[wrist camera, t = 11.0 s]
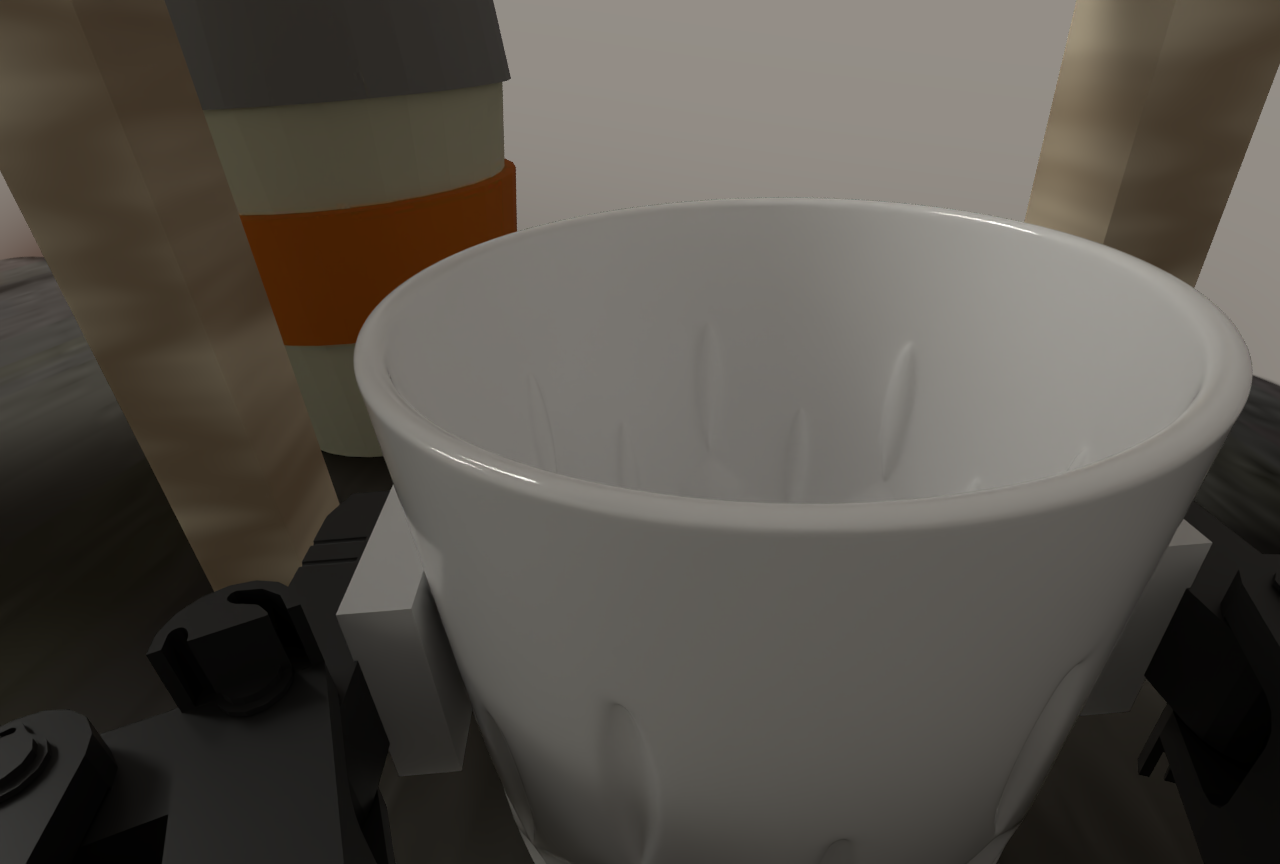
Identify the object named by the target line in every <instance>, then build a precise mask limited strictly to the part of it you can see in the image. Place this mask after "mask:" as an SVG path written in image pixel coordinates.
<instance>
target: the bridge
mask: <svg viewBox="0 0 1280 864" xmlns="http://www.w3.org/2000/svg"><path fill="white" fill-rule="evenodd" d="M1279 64H1280V0H1076V5H1075V9H1074V13H1073V18H1072V22H1071V26H1070V30H1069V34H1068V39H1067V43H1066V47H1065V51H1064V56H1063V60H1062V64H1061V68H1060V73H1059V77H1058V81H1057V85H1056V90H1055V94H1054V98H1053V102H1052V107H1051V111H1050V115H1049V120H1048V124H1047V128H1046V132H1045V136H1044V141H1043V145H1042V149H1041V153H1040V158H1039V162H1038V166H1037V170H1036V174H1035V179H1034V183H1033V188H1032V191H1031V196H1030V200H1029V204H1028V209H1027V213H1026V217H1025V221H1024V222H1025V223H1030V224H1034V225H1038V226H1042V227H1046V228H1050V229H1054V230H1058V231H1062V232H1065V233H1069V234H1072V235H1076V236H1079V237H1082V238H1085V239H1088V240H1092V241H1095V242H1098V243H1101V244H1103V245H1106V246H1109V247H1112V248H1115V249H1117V250H1120V251H1122V252H1125V253H1127V254H1130V255H1132V256H1135V257H1137V258H1139V259H1141V260H1144V261H1146V262H1148V263H1150V264H1152V265H1154V266H1156V267H1158V268H1160V269H1162V270H1164V271H1166V272H1168V273H1170V274H1172V275H1174V276H1175V277H1177V278H1179V279H1180V280H1182V281H1184V282H1185V283H1187V284H1188V285H1190V286H1192V287H1193V288H1194V287H1195V285H1196V282H1197V279H1198V277H1199V274H1200V271H1201V269H1202V266H1203V264H1204V261H1205V258H1206V255H1207V253H1208V250H1209V248H1210V245H1211V243H1212V240H1213V237H1214V235H1215V232H1216V230H1217V227H1218V224H1219V222H1220V219H1221V216H1222V214H1223V211H1224V208H1225V206H1226V203H1227V201H1228V198H1229V195H1230V193H1231V190H1232V187H1233V185H1234V182H1235V180H1236V177H1237V174H1238V172H1239V169H1240V167H1241V164H1242V161H1243V159H1244V156H1245V153H1246V151H1247V148H1248V145H1249V143H1250V140H1251V138H1252V135H1253V132H1254V130H1255V127H1256V125H1257V122H1258V119H1259V116H1260V114H1261V111H1262V109H1263V106H1264V103H1265V101H1266V98H1267V96H1268V93H1269V90H1270V88H1271V85H1272V83H1273V80H1274V77H1275V74H1276V72H1277V69H1278V67H1279ZM0 171H1V173H2V175H3V177H4V179H5V181H6V183H7V185H8V187H9V189H10V191H11V193H12V194H13V197H14V199H15V201H16V202H17V204H18V206H19V208H20V210H21V212H22V214H23V216H24V218H25V220H26V222H27V224H28V226H29V228H30V230H31V232H32V234H33V236H34V238H35V240H36V242H37V244H38V246H39V248H40V250H41V252H42V254H43V256H44V258H45V260H46V262H47V263H48V265H49V267H50V269H51V271H52V273H53V275H54V277H55V279H56V281H57V283H58V285H59V287H60V289H61V291H62V293H63V295H64V297H65V299H66V301H67V303H68V305H69V307H70V309H71V311H72V313H73V315H74V317H75V319H76V321H77V323H78V325H79V326H80V328H81V330H82V332H83V334H84V336H85V338H86V340H87V342H88V344H89V346H90V348H91V350H92V352H93V354H94V356H95V358H96V360H97V362H98V364H99V366H100V368H101V370H102V372H103V374H104V376H105V378H106V380H107V382H108V384H109V386H110V388H111V389H112V391H113V393H114V395H115V397H116V399H117V401H118V403H119V405H120V407H121V409H122V411H123V413H124V415H125V417H126V419H127V421H128V423H129V425H130V427H131V429H132V431H133V433H134V435H135V437H136V439H137V441H138V443H139V445H140V447H141V449H142V450H143V452H144V454H145V456H146V458H147V460H148V462H149V464H150V466H151V468H152V470H153V472H154V474H155V476H156V478H157V480H158V482H159V484H160V486H161V488H162V490H163V492H164V494H165V496H166V498H167V500H168V502H169V504H170V506H171V508H172V510H173V512H174V513H175V515H176V517H177V519H178V521H179V523H180V525H181V527H182V529H183V531H184V533H185V535H186V537H187V539H188V541H189V543H190V545H191V547H192V549H193V551H194V553H195V555H196V557H197V559H198V561H199V563H200V565H201V567H202V569H203V571H204V573H205V574H206V576H207V578H208V580H209V582H210V584H211V586H212V588H213V590H214V592H215V591H217V590H220V589H222V588H225V587H227V586H230V585H235V584H240V583H245V582H250V581H255V580H259V581H274V582H280V583H282V584H284V585H286V586H289V584H290V582H291V580H292V579H293V577H294V575H295V573H296V571H297V569H298V568H299V567H302V560H303V559H304V557H305V555H306V553H307V551H308V549H309V548H310V546H313V545H314V542H313V540H314V538H315V537H316V535H317V533H318V531H319V529H320V528H321V526H322V524H323V522H324V520H325V518H326V517H327V515H329V514H330V513H331V512H332V511H333V510H334V509H335V508H337V507H338V506H339V505H340V504H339V501H338V498H337V495H336V492H335V489H334V486H333V484H332V481H331V478H330V475H329V472H328V469H327V466H326V463H325V461H324V458H323V455H322V452H321V449H320V446H319V443H318V440H317V438H316V435H315V432H314V429H313V426H312V423H311V420H310V417H309V415H308V412H307V409H306V406H305V403H304V400H303V397H302V394H301V392H300V389H299V386H298V383H297V380H296V377H295V374H294V371H293V369H292V366H291V363H290V360H289V357H288V354H287V351H286V348H285V346H284V343H283V340H282V337H281V334H280V331H279V328H278V325H277V323H276V320H275V317H274V314H273V311H272V308H271V305H270V302H269V300H268V297H267V294H266V291H265V288H264V285H263V282H262V279H261V277H260V274H259V271H258V268H257V265H256V262H255V259H254V256H253V254H252V251H251V248H250V245H249V242H248V239H247V236H246V233H245V231H244V228H243V225H242V222H241V219H240V216H239V213H238V210H237V208H236V205H235V202H234V199H233V196H232V193H231V190H230V187H229V185H228V182H227V179H226V176H225V173H224V170H223V167H222V164H221V162H220V159H219V156H218V153H217V150H216V147H215V144H214V141H213V139H212V136H211V133H210V130H209V127H208V124H207V121H206V118H205V116H204V113H203V110H202V107H201V104H200V101H199V98H198V95H197V92H196V90H195V87H194V84H193V81H192V78H191V75H190V72H189V69H188V67H187V64H186V61H185V58H184V55H183V52H182V49H181V46H180V44H179V41H178V38H177V35H176V32H175V29H174V26H173V23H172V21H171V18H170V15H169V12H168V9H167V6H166V3H165V0H0Z"/></svg>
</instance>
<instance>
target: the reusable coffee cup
mask: <svg viewBox="0 0 1280 864" xmlns="http://www.w3.org/2000/svg"><path fill="white" fill-rule="evenodd" d="M165 3H166V6H167V9H168V12H169V15H170V18H171V21H172V23H173V26H174V29H175V32H176V35H177V38H178V41H179V44H180V46H181V49H182V52H183V55H184V58H185V61H186V64H187V67H188V69H189V72H190V75H191V78H192V81H193V84H194V87H195V90H196V92H197V95H198V98H199V101H200V104H201V107H202V110H203V113H204V116H205V118H206V121H207V124H208V127H209V130H210V133H211V136H212V139H213V141H214V144H215V147H216V150H217V153H218V156H219V159H220V162H221V164H222V167H223V170H224V173H225V176H226V179H227V182H228V185H229V187H230V190H231V193H232V196H233V199H234V202H235V205H236V208H237V210H238V213H239V216H240V219H241V222H242V225H243V228H244V231H245V233H246V236H247V239H248V242H249V245H250V248H251V251H252V254H253V256H254V259H255V262H256V265H257V268H258V271H259V274H260V277H261V279H262V282H263V285H264V288H265V291H266V294H267V297H268V300H269V302H270V305H271V308H272V311H273V314H274V317H275V320H276V323H277V325H278V328H279V331H280V334H281V337H282V340H283V343H284V346H285V348H286V351H287V354H288V357H289V360H290V363H291V366H292V369H293V371H294V374H295V377H296V380H297V383H298V386H299V389H300V392H301V394H302V397H303V400H304V403H305V406H306V409H307V412H308V415H309V417H310V420H311V423H312V426H313V429H314V432H315V435H316V438H317V440H318V443H319V446H320V449H321V450H322V451H325V452H328V453H331V454H337V455H343V456H350V457H379V456H383V454H382V451H381V449H380V446H379V443H378V440H377V437H376V435H375V432H374V429H373V426H372V423H371V421H370V418H369V415H368V412H367V409H366V407H365V404H364V401H363V398H362V396H361V393H360V390H359V387H358V384H357V381H356V377H355V373H354V364H353V356H354V348H355V343H356V340H357V337H358V334H359V332H360V330H361V328H362V326H363V324H364V322H365V321H366V319H367V318H368V316H369V315H370V313H371V312H372V311H373V310H374V308H375V307H376V306H377V305H378V304H379V303H380V302H381V301H382V300H383V299H384V298H385V297H386V296H387V295H388V294H389V293H391V292H392V291H393V290H394V289H395V288H397V287H398V286H399V285H401V284H402V283H403V282H405V281H406V280H408V279H409V278H411V277H412V276H414V275H415V274H417V273H419V272H420V271H422V270H424V269H425V268H427V267H429V266H431V265H433V264H435V263H437V262H438V261H440V260H442V259H445V258H447V257H449V256H451V255H453V254H455V253H458V252H460V251H462V250H465V249H467V248H470V247H472V246H475V245H478V244H480V243H483V242H486V241H489V240H492V239H495V238H498V237H501V236H504V235H507V234H510V233H514V232H517V217H516V215H517V213H516V167H515V165H514V164H513V162H511V161H509V160H507V159H504V129H503V91H502V82H503V81H507V80H509V79H511V77H510V73H509V68H508V64H507V59H506V55H505V51H504V47H503V42H502V38H501V34H500V29H499V24H498V20H497V16H496V11H495V7H494V3H493V0H165Z"/></svg>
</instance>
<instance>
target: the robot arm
mask: <svg viewBox="0 0 1280 864" xmlns="http://www.w3.org/2000/svg"><path fill="white" fill-rule="evenodd" d="M313 542H314V545H313V546H310V548H309V549H308V551H307V553H306V555H305V557H304V559H303V560H302V567H299V568H298V569H297V571H296V573H295V575H294V577H293V579H292V580H291V582H290V584H289V586H286V585H284V584H282V583H280V582H274V581H259V580H255V581H250V582H245V583H240V584H235V585H230V586H227V587H225V588H222V589H220V590H217V591H215V592H213V593H210V594H208V595H205V596H203V597H201V598H199V599H198V600H196V601H195V602H193V603H192V604H190V605H189V606H187V607H185V608H184V609H182V610H181V611H179V612H178V613H176V614H175V615H174V616H173V617H172V618H171V619H170V620H169V621H168V622H167V623H166V624H165V625H164V626H163V627H162V628H161V629H160V630H159V631H158V632H157V633H156V635H155V637H154V639H153V641H152V643H151V645H150V647H149V649H148V651H147V654H146V656H147V657H148V659H149V661H150V662H151V664H152V666H153V667H154V669H155V670H156V672H157V674H158V675H159V677H160V678H161V680H162V682H163V683H164V685H165V687H166V688H167V690H168V691H169V693H170V695H171V696H172V698H173V700H174V701H175V703H176V704H177V706H178V708H176V709H173V710H171V711H168V712H165V713H162V714H159V715H156V716H153V717H150V718H147V719H144V720H141V721H138V722H135V723H132V724H129V725H126V726H123V727H120V728H117V729H114V730H111V731H108V732H105V733H102V734H99V733H98V732H97V731H96V729H95V728H94V727H93V725H92V724H91V723H90V721H89V720H88V718H87V717H85V716H83V715H81V714H79V713H77V712H74V711H72V710H70V709H67V710H45V711H41V712H38V713H35V714H32V715H28V716H25V717H22V718H19V719H16V720H13V721H11V722H9V723H7V724H5V725H3V726H1V727H0V864H395V858H394V852H393V845H392V839H391V833H390V826H389V820H388V814H387V807H386V804H385V802H384V800H383V797H382V795H381V792H380V790H379V788H378V785H379V781H380V777H381V774H382V770H383V767H384V763H385V760H386V756H387V753H388V749H389V752H390V755H391V757H392V760H393V762H394V765H395V767H396V770H397V772H398V775H399V777H400V776H411V775H422V774H433V773H444V772H456V771H462V766H463V761H464V755H465V749H466V744H467V738H468V732H469V727H470V721H471V715H472V708H471V705H470V702H469V699H468V696H467V693H466V690H465V688H464V685H463V682H462V679H461V676H460V673H459V670H458V667H457V665H456V662H455V659H454V656H453V653H452V650H451V647H450V644H449V642H448V639H447V636H446V633H445V630H444V627H443V624H442V621H441V619H440V616H439V613H438V610H437V607H436V604H435V601H434V598H433V596H432V593H431V590H430V587H429V584H428V581H427V578H426V576H425V573H424V570H423V567H422V564H421V561H420V558H419V556H418V553H417V550H416V547H415V544H414V541H413V539H412V536H411V533H410V530H409V527H408V524H407V522H406V519H405V516H404V513H403V510H402V508H401V505H400V502H399V499H398V496H397V493H396V491H395V488H394V485H393V486H392V488H391V491H378V492H365V493H353V494H351V495H350V496H349V497H348V498H347V499H346V500H345V501H343V502H342V503H341V504H340V505H339V506H338V507H337V508H335V509H334V510H333V511H332V512H331V513H330V514H329V515H327V517H326V518H325V520H324V522H323V524H322V526H321V528H320V529H319V531H318V533H317V535H316V537H315V538H314V540H313ZM1145 679H1147V680H1148V681H1149V682H1150V683H1151V684H1152V686H1153V687H1154V688H1155V689H1156V690H1157V691H1158V693H1159V694H1160V695H1161V696H1162V697H1163V698H1164V699H1165V701H1166V702H1167V705H1166V707H1165V709H1164V710H1163V712H1162V714H1161V716H1160V718H1159V720H1158V722H1157V724H1156V725H1155V727H1154V729H1153V731H1152V733H1151V735H1150V737H1149V739H1148V740H1147V742H1146V744H1145V746H1144V748H1143V750H1142V752H1141V754H1140V756H1139V757H1138V773H1139V775H1143V776H1147V777H1149V776H1150V774H1151V773H1152V771H1153V769H1154V767H1155V765H1156V764H1157V762H1158V760H1159V758H1160V756H1161V755H1162V753H1163V752H1165V753H1166V756H1167V759H1168V762H1169V767H1168V769H1167V771H1166V773H1165V776H1164V781H1169V782H1173V783H1176V785H1177V788H1178V791H1179V794H1180V796H1181V799H1182V802H1183V805H1184V808H1185V811H1186V814H1187V816H1188V819H1189V822H1190V825H1191V828H1192V831H1193V834H1194V836H1195V839H1196V842H1197V845H1198V848H1199V851H1200V854H1201V857H1202V859H1203V862H1204V864H1280V554H1261V553H1260V552H1259V551H1258V550H1256V549H1255V548H1254V547H1252V546H1251V545H1250V544H1249V543H1247V542H1246V541H1245V540H1243V539H1242V538H1241V537H1240V536H1238V535H1237V534H1236V533H1234V532H1233V531H1232V530H1231V529H1229V528H1228V527H1227V526H1225V525H1224V524H1223V523H1222V522H1220V521H1219V520H1218V519H1216V518H1215V517H1214V516H1213V515H1211V514H1210V513H1209V512H1207V511H1206V510H1205V509H1204V508H1202V507H1201V506H1200V505H1198V504H1197V503H1196V502H1195V501H1193V502H1192V504H1191V506H1190V508H1189V510H1188V512H1187V513H1186V515H1185V517H1184V519H1183V521H1182V523H1181V525H1180V526H1179V528H1178V530H1177V532H1176V534H1175V536H1174V538H1173V539H1172V541H1171V543H1170V545H1169V547H1168V549H1167V551H1166V552H1165V554H1164V556H1163V558H1162V560H1161V562H1160V564H1159V565H1158V567H1157V569H1156V571H1155V573H1154V575H1153V577H1152V579H1151V580H1150V582H1149V584H1148V586H1147V588H1146V590H1145V592H1144V594H1143V595H1142V597H1141V599H1140V601H1139V603H1138V605H1137V607H1136V609H1135V610H1134V612H1133V614H1132V616H1131V618H1130V620H1129V622H1128V624H1127V626H1126V628H1125V629H1124V631H1123V633H1122V635H1121V637H1120V639H1119V641H1118V643H1117V645H1116V647H1115V648H1114V650H1113V652H1112V654H1111V656H1110V658H1109V660H1108V662H1107V664H1106V666H1105V668H1104V669H1103V671H1102V673H1101V675H1100V677H1099V679H1098V681H1097V683H1096V685H1095V687H1094V689H1093V690H1092V692H1091V694H1090V696H1089V698H1088V700H1087V702H1086V704H1085V706H1084V708H1083V710H1082V711H1081V713H1080V715H1079V716H1085V715H1096V714H1107V713H1119V712H1129V711H1130V709H1131V707H1132V705H1133V703H1134V701H1135V699H1136V697H1137V695H1138V693H1139V691H1140V689H1141V687H1142V685H1143V683H1144V681H1145Z"/></svg>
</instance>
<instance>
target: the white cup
mask: <svg viewBox="0 0 1280 864" xmlns="http://www.w3.org/2000/svg"><path fill="white" fill-rule="evenodd" d="M353 364H354V373H355V377H356V381H357V384H358V387H359V390H360V393H361V396H362V398H363V401H364V404H365V407H366V409H367V412H368V415H369V418H370V421H371V423H372V426H373V429H374V432H375V435H376V437H377V440H378V443H379V446H380V449H381V451H382V454H383V457H384V460H385V463H386V465H387V468H388V471H389V474H390V477H391V479H392V482H393V485H394V488H395V491H396V493H397V496H398V499H399V502H400V505H401V508H402V510H403V513H404V516H405V519H406V522H407V524H408V527H409V530H410V533H411V536H412V539H413V541H414V544H415V547H416V550H417V553H418V556H419V558H420V561H421V564H422V567H423V570H424V573H425V576H426V578H427V581H428V584H429V587H430V590H431V593H432V596H433V598H434V601H435V604H436V607H437V610H438V613H439V616H440V619H441V621H442V624H443V627H444V630H445V633H446V636H447V639H448V642H449V644H450V647H451V650H452V653H453V656H454V659H455V662H456V665H457V667H458V670H459V673H460V676H461V679H462V682H463V685H464V688H465V690H466V693H467V696H468V699H469V702H470V705H471V708H472V711H473V713H474V716H475V719H476V722H477V725H478V727H479V730H480V733H481V735H482V738H483V741H484V743H485V746H486V748H487V751H488V753H489V756H490V758H491V761H492V763H493V765H494V768H495V770H496V772H497V774H498V776H499V779H500V781H501V783H502V785H503V788H504V791H505V794H506V797H507V800H508V803H509V806H510V809H511V812H512V815H513V818H514V821H515V823H516V825H517V827H518V830H519V832H520V834H521V836H522V838H523V840H524V843H525V845H526V847H527V849H528V851H529V853H530V855H531V857H532V859H533V861H534V863H535V864H996V863H997V861H998V859H999V858H1000V856H1001V853H1002V851H1003V849H1004V847H1005V845H1006V844H1007V842H1008V841H1009V840H1010V838H1011V837H1012V835H1013V834H1014V832H1015V831H1016V830H1017V828H1018V827H1019V825H1020V824H1021V822H1022V821H1023V819H1024V818H1025V816H1026V814H1027V813H1028V811H1029V809H1030V808H1031V806H1032V804H1033V803H1034V801H1035V799H1036V797H1037V795H1038V793H1039V791H1040V790H1041V788H1042V786H1043V784H1044V782H1045V780H1046V778H1047V777H1048V775H1049V773H1050V771H1051V769H1052V767H1053V765H1054V763H1055V761H1056V759H1057V757H1058V755H1059V753H1060V752H1061V750H1062V748H1063V746H1064V744H1065V742H1066V740H1067V738H1068V736H1069V734H1070V732H1071V731H1072V729H1073V727H1074V725H1075V723H1076V721H1077V719H1078V717H1079V715H1080V713H1081V711H1082V710H1083V708H1084V706H1085V704H1086V702H1087V700H1088V698H1089V696H1090V694H1091V692H1092V690H1093V689H1094V687H1095V685H1096V683H1097V681H1098V679H1099V677H1100V675H1101V673H1102V671H1103V669H1104V668H1105V666H1106V664H1107V662H1108V660H1109V658H1110V656H1111V654H1112V652H1113V650H1114V648H1115V647H1116V645H1117V643H1118V641H1119V639H1120V637H1121V635H1122V633H1123V631H1124V629H1125V628H1126V626H1127V624H1128V622H1129V620H1130V618H1131V616H1132V614H1133V612H1134V610H1135V609H1136V607H1137V605H1138V603H1139V601H1140V599H1141V597H1142V595H1143V594H1144V592H1145V590H1146V588H1147V586H1148V584H1149V582H1150V580H1151V579H1152V577H1153V575H1154V573H1155V571H1156V569H1157V567H1158V565H1159V564H1160V562H1161V560H1162V558H1163V556H1164V554H1165V552H1166V551H1167V549H1168V547H1169V545H1170V543H1171V541H1172V539H1173V538H1174V536H1175V534H1176V532H1177V530H1178V528H1179V526H1180V525H1181V523H1182V521H1183V519H1184V517H1185V515H1186V513H1187V512H1188V510H1189V508H1190V506H1191V504H1192V502H1193V500H1194V499H1195V497H1196V495H1197V493H1198V491H1199V489H1200V487H1201V486H1202V484H1203V482H1204V480H1205V478H1206V476H1207V474H1208V473H1209V471H1210V469H1211V467H1212V465H1213V463H1214V461H1215V460H1216V458H1217V456H1218V454H1219V452H1220V450H1221V448H1222V447H1223V445H1224V443H1225V441H1226V439H1227V437H1228V436H1229V434H1230V432H1231V430H1232V428H1233V426H1234V425H1235V423H1236V421H1237V419H1238V417H1239V415H1240V414H1241V412H1242V410H1243V408H1244V406H1245V403H1246V401H1247V399H1248V396H1249V393H1250V389H1251V384H1252V362H1251V357H1250V354H1249V350H1248V348H1247V345H1246V343H1245V341H1244V339H1243V338H1242V336H1241V334H1240V332H1239V331H1238V329H1237V328H1236V326H1235V325H1234V324H1233V323H1232V321H1231V320H1230V319H1229V318H1228V317H1227V316H1226V314H1224V312H1223V311H1222V310H1221V309H1220V308H1218V307H1217V306H1216V305H1215V304H1214V303H1213V302H1212V301H1210V300H1209V299H1208V298H1206V297H1205V296H1204V295H1203V294H1201V293H1200V292H1199V291H1197V290H1196V289H1194V288H1193V287H1192V286H1190V285H1188V284H1187V283H1185V282H1184V281H1182V280H1180V279H1179V278H1177V277H1175V276H1174V275H1172V274H1170V273H1168V272H1166V271H1164V270H1162V269H1160V268H1158V267H1156V266H1154V265H1152V264H1150V263H1148V262H1146V261H1144V260H1141V259H1139V258H1137V257H1135V256H1132V255H1130V254H1127V253H1125V252H1122V251H1120V250H1117V249H1115V248H1112V247H1109V246H1106V245H1103V244H1101V243H1098V242H1095V241H1092V240H1088V239H1085V238H1082V237H1079V236H1076V235H1072V234H1069V233H1065V232H1062V231H1058V230H1054V229H1050V228H1046V227H1042V226H1038V225H1034V224H1030V223H1025V222H1021V221H1016V220H1012V219H1007V218H1001V217H997V216H991V215H986V214H980V213H974V212H968V211H962V210H955V209H948V208H940V207H933V206H925V205H916V204H907V203H896V202H885V201H873V200H857V199H838V198H799V197H794V198H793V197H787V198H786V197H776V198H775V197H773V198H735V199H715V200H700V201H688V202H676V203H666V204H657V205H648V206H640V207H632V208H625V209H619V210H613V211H606V212H600V213H594V214H589V215H584V216H579V217H574V218H569V219H564V220H560V221H555V222H551V223H547V224H543V225H539V226H535V227H531V228H527V229H524V230H520V231H517V232H514V233H510V234H507V235H504V236H501V237H498V238H495V239H492V240H489V241H486V242H483V243H480V244H478V245H475V246H472V247H470V248H467V249H465V250H462V251H460V252H458V253H455V254H453V255H451V256H449V257H447V258H445V259H442V260H440V261H438V262H437V263H435V264H433V265H431V266H429V267H427V268H425V269H424V270H422V271H420V272H419V273H417V274H415V275H414V276H412V277H411V278H409V279H408V280H406V281H405V282H403V283H402V284H401V285H399V286H398V287H397V288H395V289H394V290H393V291H392V292H391V293H389V294H388V295H387V296H386V297H385V298H384V299H383V300H382V301H381V302H380V303H379V304H378V305H377V306H376V307H375V308H374V310H373V311H372V312H371V313H370V315H369V316H368V318H367V319H366V321H365V322H364V324H363V326H362V328H361V330H360V332H359V334H358V337H357V340H356V343H355V348H354V356H353Z"/></svg>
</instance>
